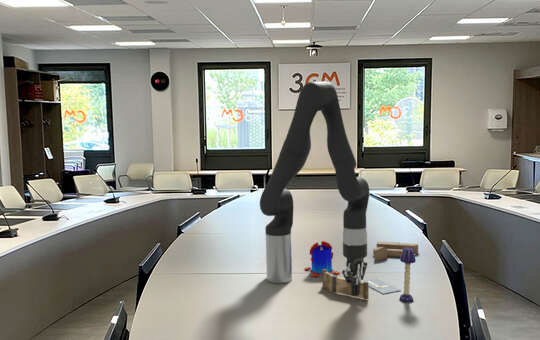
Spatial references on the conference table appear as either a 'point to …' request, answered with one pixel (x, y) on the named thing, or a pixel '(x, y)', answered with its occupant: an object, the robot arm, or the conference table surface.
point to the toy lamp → (407, 273)
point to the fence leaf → (349, 287)
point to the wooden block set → (391, 249)
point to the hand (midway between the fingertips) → (355, 295)
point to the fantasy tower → (321, 259)
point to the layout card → (381, 286)
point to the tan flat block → (327, 280)
